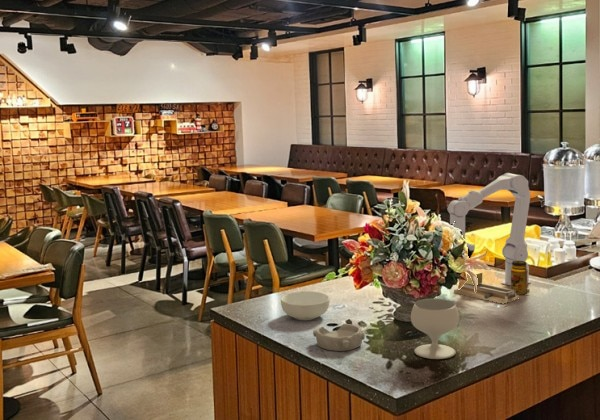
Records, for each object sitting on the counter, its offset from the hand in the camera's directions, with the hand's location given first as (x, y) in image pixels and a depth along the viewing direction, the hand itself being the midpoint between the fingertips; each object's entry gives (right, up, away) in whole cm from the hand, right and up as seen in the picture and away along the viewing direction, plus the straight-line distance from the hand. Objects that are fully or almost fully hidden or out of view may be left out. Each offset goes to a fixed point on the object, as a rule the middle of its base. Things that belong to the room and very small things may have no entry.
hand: (457, 265), depth 276 cm
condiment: (+23, -10, -5) cm, 25 cm away
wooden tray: (+9, -11, -8) cm, 16 cm away
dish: (-49, -20, -57) cm, 78 cm away
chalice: (-21, -21, -66) cm, 72 cm away
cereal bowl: (-59, -16, -28) cm, 67 cm away
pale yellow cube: (+5, -7, -4) cm, 10 cm away
